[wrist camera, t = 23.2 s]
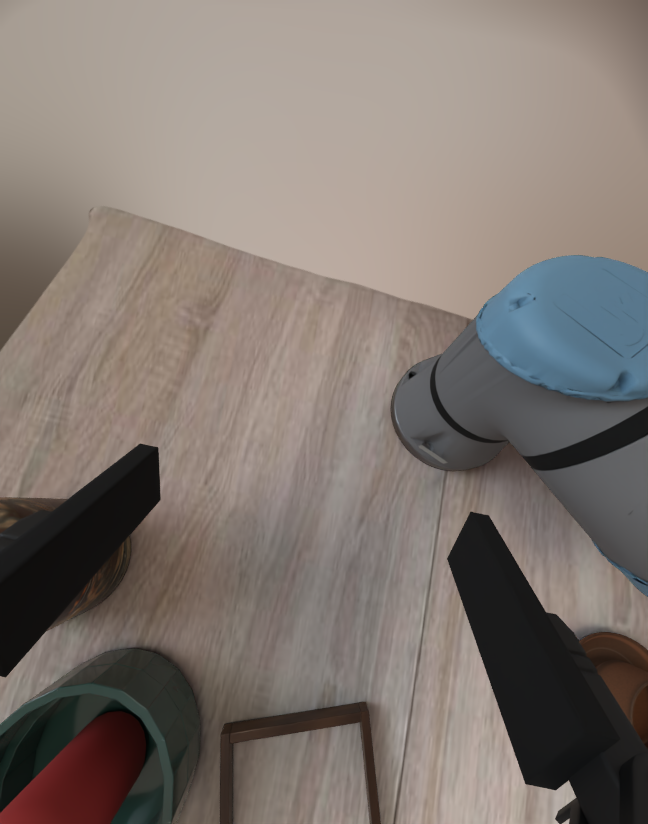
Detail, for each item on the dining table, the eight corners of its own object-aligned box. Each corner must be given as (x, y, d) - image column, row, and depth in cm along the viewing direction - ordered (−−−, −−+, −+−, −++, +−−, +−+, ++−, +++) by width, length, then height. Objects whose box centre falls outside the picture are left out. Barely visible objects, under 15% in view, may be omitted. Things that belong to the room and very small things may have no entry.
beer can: (120, 815, 26) (-17, 1047, 15) (56, 777, 27) (-123, 975, 16) (163, 727, 28) (72, 873, 17) (104, 693, 29) (-25, 813, 18)
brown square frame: (365, 701, 31) (368, 710, 29) (387, 910, 26) (392, 933, 25) (224, 723, 29) (220, 734, 28) (223, 948, 25) (218, 975, 24)
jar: (11, 633, 30) (-247, 745, 16) (15, 514, 33) (-196, 518, 19) (135, 598, 32) (1, 671, 18) (128, 488, 35) (10, 474, 21)
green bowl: (204, 636, 31) (178, 670, 25) (199, 845, 27) (165, 957, 20) (39, 657, 30) (-36, 700, 23) (3, 883, 25) (-104, 1018, 19)
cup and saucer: (674, 677, 33) (753, 713, 28) (638, 795, 30) (720, 865, 24) (576, 601, 35) (632, 620, 29) (533, 706, 32) (585, 751, 26)
